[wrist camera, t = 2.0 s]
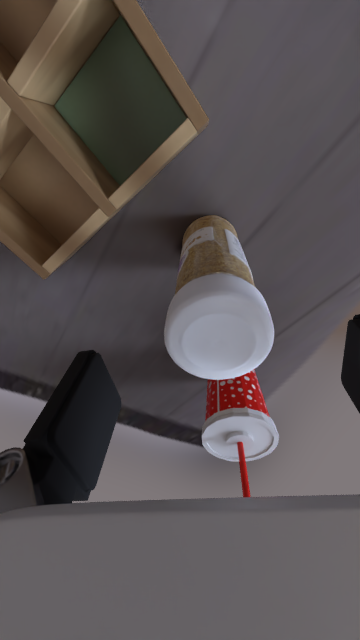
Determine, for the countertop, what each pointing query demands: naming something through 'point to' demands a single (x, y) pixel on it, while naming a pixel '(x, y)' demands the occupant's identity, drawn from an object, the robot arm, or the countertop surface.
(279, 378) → the countertop surface
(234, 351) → the sprinkles bottle
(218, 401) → the beverage cup
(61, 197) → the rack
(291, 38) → the countertop surface
